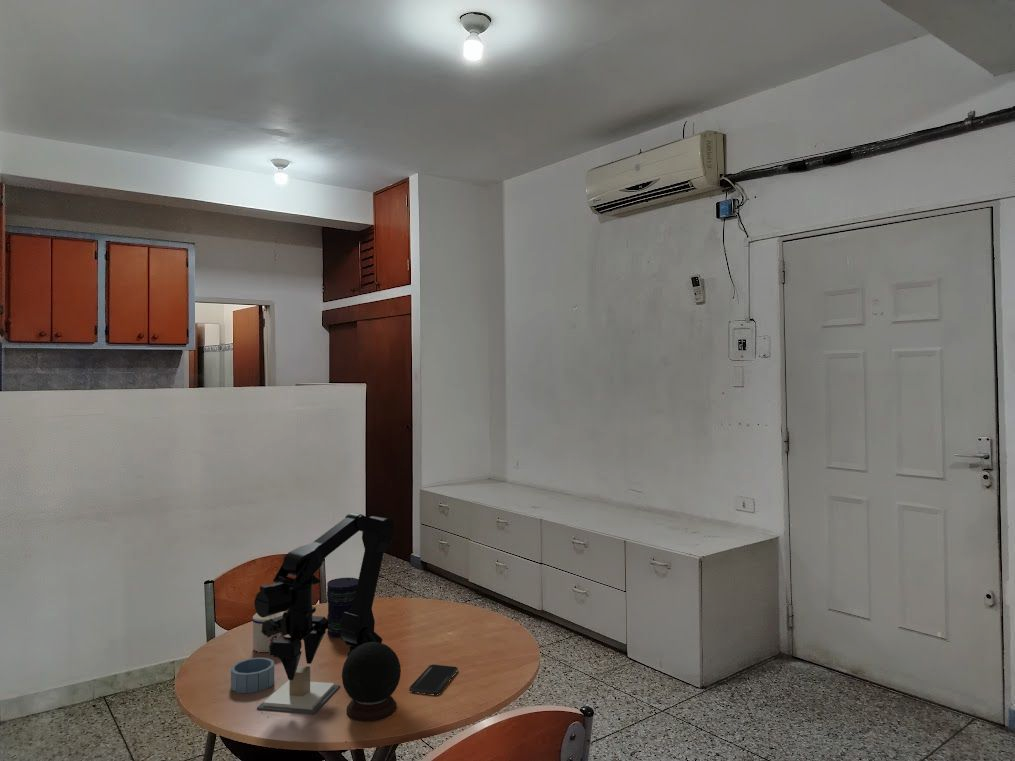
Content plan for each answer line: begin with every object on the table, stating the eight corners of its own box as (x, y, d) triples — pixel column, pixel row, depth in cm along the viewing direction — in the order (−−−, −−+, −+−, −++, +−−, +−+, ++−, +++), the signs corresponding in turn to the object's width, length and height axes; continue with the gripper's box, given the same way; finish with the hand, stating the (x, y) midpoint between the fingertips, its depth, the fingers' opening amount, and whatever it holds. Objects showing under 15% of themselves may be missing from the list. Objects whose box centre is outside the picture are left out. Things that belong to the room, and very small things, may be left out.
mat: (340, 686, 167) (340, 685, 167) (314, 714, 153) (314, 712, 153) (286, 682, 170) (286, 681, 170) (256, 709, 156) (256, 707, 156)
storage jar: (349, 639, 198) (349, 588, 198) (320, 636, 201) (320, 585, 201) (366, 628, 207) (366, 578, 207) (338, 624, 210) (338, 576, 210)
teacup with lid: (274, 655, 187) (274, 612, 187) (245, 652, 189) (245, 610, 189) (297, 639, 199) (297, 599, 199) (270, 636, 201) (270, 596, 201)
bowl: (281, 676, 173) (281, 659, 173) (260, 694, 163) (260, 675, 163) (245, 674, 175) (245, 656, 175) (222, 691, 165) (222, 672, 165)
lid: (334, 686, 166) (334, 660, 166) (312, 709, 155) (312, 681, 155) (288, 683, 168) (288, 657, 168) (263, 705, 157) (263, 678, 157)
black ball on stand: (372, 691, 165) (372, 629, 165) (412, 706, 157) (412, 641, 157) (329, 713, 154) (329, 646, 154) (370, 730, 146) (370, 660, 146)
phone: (407, 689, 164) (430, 664, 179) (408, 693, 164) (431, 668, 179) (438, 692, 162) (459, 667, 177) (438, 697, 162) (459, 671, 177)
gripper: (287, 591, 172) (287, 653, 172) (247, 617, 154) (247, 686, 154) (328, 593, 170) (329, 656, 170) (293, 619, 152) (293, 689, 152)
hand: (300, 671), depth 162 cm, fingers open, 9 cm apart
